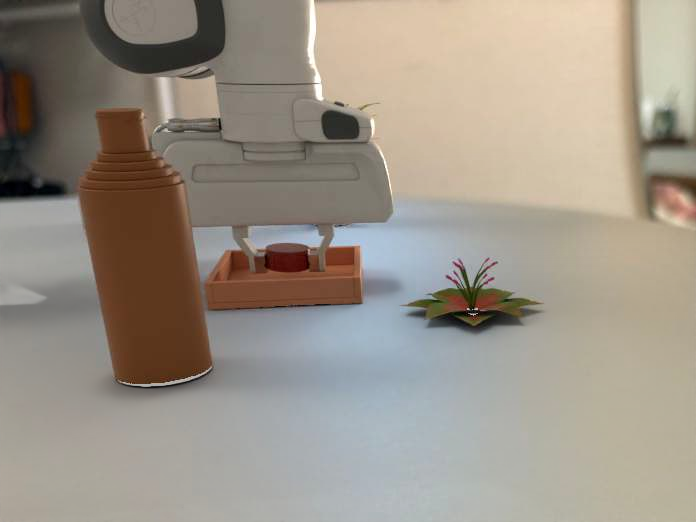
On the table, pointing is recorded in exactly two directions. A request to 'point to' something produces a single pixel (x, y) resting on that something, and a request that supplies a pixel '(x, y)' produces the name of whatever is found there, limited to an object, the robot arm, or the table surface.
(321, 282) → the tray
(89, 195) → the bottle
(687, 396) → the table surface
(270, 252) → the cap
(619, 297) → the table surface
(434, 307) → the flowering rosette plant
